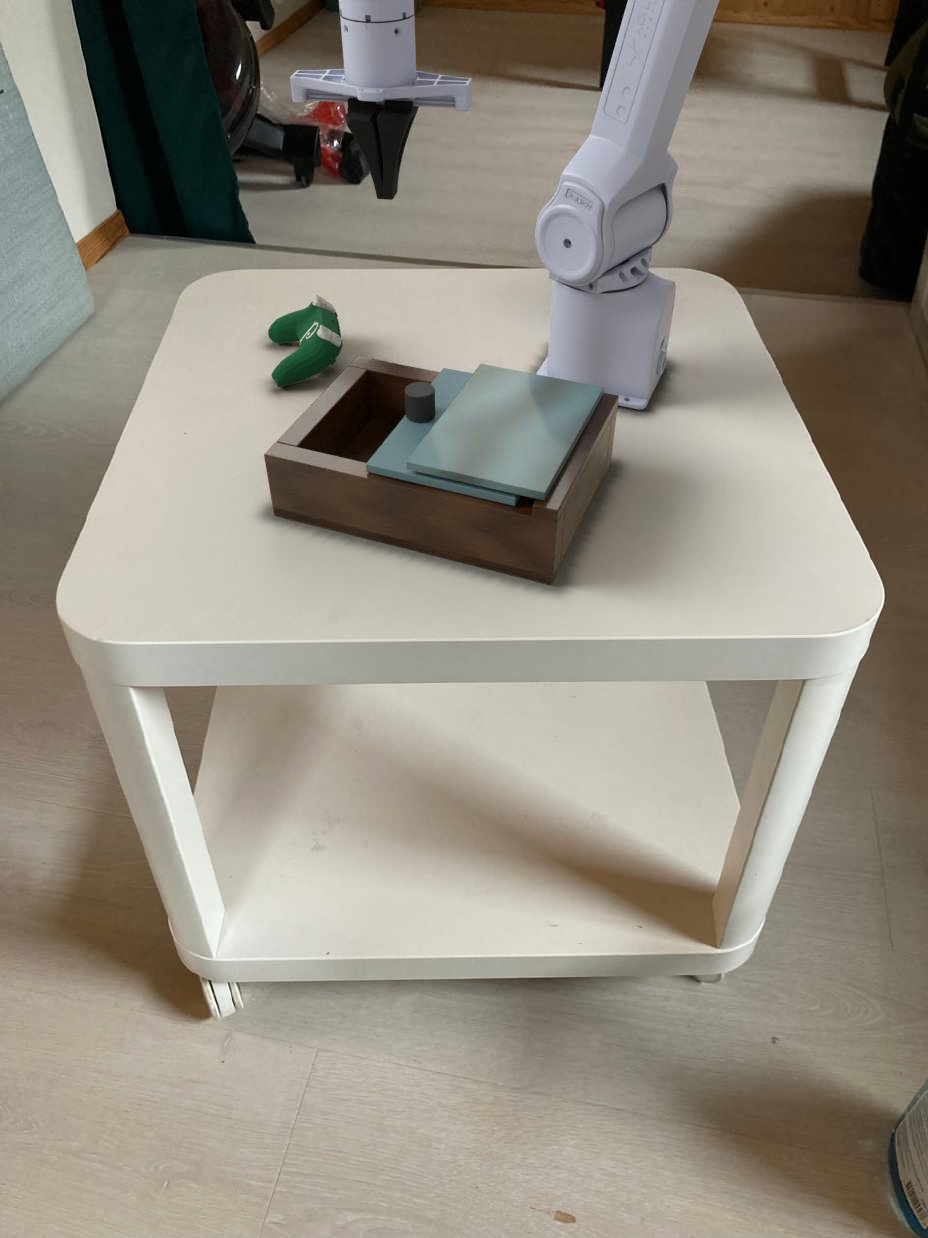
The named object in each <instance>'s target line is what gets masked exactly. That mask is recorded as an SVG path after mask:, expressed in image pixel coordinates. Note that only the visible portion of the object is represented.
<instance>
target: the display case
mask: <svg viewBox="0 0 928 1238" xmlns="http://www.w3.org/2000/svg"><path fill="white" fill-rule="evenodd" d="M440 372H441V371H437V370H431V369H427V368H421V367H415V366H411V365H406V364H401V363H395V362H392V361H391V362H390V361H385V360H380V359H375V358H370V357H365V356H360V355H358V356H356V357H355V358H354V359H353V360H352V361H351V362H350V363H349V365H347V366H346V367H345V369H343V371H342V372H341V373H340V374H339V375H338V376H337V377H336V378H335V379H334V380H333V381H332V382H331V383H330V385H329V386H327V388H326V389H325V390H324V391H323V392H322V393H321V394H320V395H319V396H318V397H317V398H316V399H315V400H314V402H312V404H310V406H309V407H308V408H307V409H306V410H305V411H304V412H302V414H300V416H299V417H298V418H297V419H296V420H295V421H294V422H293V423H292V424H291V425H290V426H289V427H288V429H287V430H286V431H285V432H284V433H283V434H282V435H281V436H280V437H279V438H278V439H277V440H276V441H275V442H274V443H273V444H272V445H271V446H270V447H269V448H268V450H266V452H265V453H264V454H263V458H264V463H265V469H266V470H265V471H266V476H267V481H268V487H269V494H270V498H271V499H270V500H271V505H272V511H273V516H274V517H279V518H283V519H287V520H291V521H295V522H299V523H303V524H307V525H311V526H315V527H318V528H323V529H326V530H331V531H334V532H339V533H342V534H346V535H350V536H355V537H358V538H362V539H366V540H371V541H375V542H379V543H383V544H386V545H390V546H394V547H398V548H402V549H406V550H409V551H413V552H418V553H422V554H425V555H429V556H433V557H438V558H442V559H446V560H450V561H454V562H458V563H461V564H466V565H468V566H469V565H470V566H473V567H477V568H481V569H486V570H490V571H494V572H497V573H501V574H505V575H510V576H513V577H516V578H517V577H518V578H522V579H526V580H530V581H533V582H537V583H541V584H545V585H549V586H553V584H554V582H555V581H556V579H557V577H558V574H559V573H560V571H561V568H562V567H563V564H564V562H565V560H566V558H567V556H568V554H569V552H570V550H571V548H572V546H573V544H574V542H575V539H576V538H577V536H578V534H579V531H580V530H581V528H582V526H583V523H584V521H585V519H586V517H587V516H588V513H589V511H590V509H591V507H592V506H593V503H594V501H595V499H596V497H597V495H598V494H599V491H600V489H601V487H602V484H603V482H604V480H605V479H606V477H607V474H608V473H609V470H610V468H611V467H612V466H611V465H612V457H613V448H614V440H615V433H616V432H615V431H616V423H617V415H618V408H619V405H618V400H619V396H618V395H613V394H608V393H603V392H604V387H600V386H595V385H589V384H584V383H579V382H574V381H569V380H563V379H558V378H553V377H548V376H543V375H537V374H536V373H532V372H526V371H521V370H516V369H512V368H506V367H500V366H495V365H490V364H486V363H480V364H479V365H478V366H477V367H476V369H475V370H474V371H473V374H472V376H471V377H470V378H469V380H468V381H467V382H466V384H465V385H464V386H463V388H462V389H461V390H460V392H459V393H458V394H457V395H456V397H455V398H454V399H453V401H452V402H451V403H450V405H449V406H448V407H447V409H446V410H445V411H444V413H443V414H442V415H441V417H440V418H439V419H438V421H437V422H436V423H435V424H434V426H433V427H432V428H431V430H430V431H429V432H428V434H427V435H426V436H425V438H424V439H423V440H422V442H421V443H420V444H419V446H418V447H417V448H416V450H415V451H414V452H413V454H412V455H411V456H410V457H409V459H408V460H407V462H406V465H407V469H408V470H412V471H416V472H421V473H425V474H430V475H434V476H438V477H443V478H447V479H452V480H456V481H460V482H465V483H469V484H473V485H478V486H482V487H487V488H491V489H495V490H500V491H504V492H508V493H513V494H517V495H521V497H520V498H519V500H518V502H517V503H516V505H515V506H512V505H508V504H504V503H499V502H495V501H491V500H486V499H482V498H478V497H473V496H469V495H465V494H460V493H456V492H452V491H447V490H443V489H439V488H435V487H430V486H426V485H422V484H417V483H413V482H409V481H404V480H400V479H396V478H391V477H387V476H383V475H378V474H374V473H370V472H367V471H366V463H367V462H368V461H369V460H370V458H371V457H372V456H373V455H374V453H375V452H376V451H377V450H378V449H379V447H380V446H381V445H382V444H383V442H384V441H385V440H386V439H387V437H388V436H389V435H390V434H391V432H392V431H393V430H394V429H395V427H396V426H397V425H398V424H399V423H400V421H401V420H402V419H403V418H404V416H405V415H406V409H405V388H406V386H407V385H409V384H411V383H414V382H426V383H429V384H431V383H432V382H433V380H434V379H435V378H436V377H437V375H438V374H439V373H440Z"/></svg>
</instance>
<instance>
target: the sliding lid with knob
mask: <svg viewBox="0 0 928 1238" xmlns="http://www.w3.org/2000/svg"><path fill="white" fill-rule="evenodd" d="M439 372H440V373H439V374H438V375H437V377H436V378H435V379H434V380H433V382H432V383H431V384H429V383H426V382H414V383H411V384H409V385H407V386H406V388H405V409H406V415H405V416H404V418H403V419H402V420H401V421H400V423H399V424H398V425H397V426H396V427H395V429H394V430H393V431H392V432H391V434H390V435H389V436H388V437H387V439H386V440H385V441H384V442H383V444H382V445H381V446H380V447H379V449H378V450H377V451H376V452H375V453H374V455H373V456H372V457H371V458H370V460H369V461H368V462H367V463H366V471H367V472H370V473H374V474H378V475H383V476H387V477H391V478H396V479H400V480H404V481H409V482H413V483H417V484H422V485H426V486H430V487H435V488H439V489H443V490H447V491H452V492H456V493H460V494H465V495H469V496H473V497H478V498H482V499H486V500H491V501H495V502H499V503H504V504H508V505H512V506H515V505H516V503H517V502H518V500H519V498H520V497H521V495H517V494H513V493H508V492H504V491H500V490H495V489H491V488H487V487H482V486H478V485H473V484H469V483H465V482H460V481H456V480H452V479H447V478H443V477H438V476H434V475H430V474H425V473H421V472H416V471H412V470H408V469H407V465H406V462H407V460H408V459H409V457H410V456H411V455H412V454H413V452H414V451H415V450H416V448H417V447H418V446H419V444H420V443H421V442H422V440H423V439H424V438H425V436H426V435H427V434H428V432H429V431H430V430H431V428H432V427H433V426H434V424H435V423H436V422H437V421H438V419H439V418H440V417H441V415H442V414H443V413H444V411H445V410H446V409H447V407H448V406H449V405H450V403H451V402H452V401H453V399H454V398H455V397H456V395H457V394H458V393H459V392H460V390H461V389H462V388H463V386H464V385H465V384H466V382H467V381H468V380H469V378H470V377H471V376H472V374H473V373H474V372H473V373H472V372H467V371H463V370H458V369H452V368H446V367H443V368H442V369H441V371H439Z"/></svg>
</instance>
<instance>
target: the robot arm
mask: <svg viewBox="0 0 928 1238" xmlns="http://www.w3.org/2000/svg"><path fill="white" fill-rule="evenodd" d="M719 3H720V0H627V3H626V6H625V9H624V13H623V16H622V20H621V24H620V27H619V30H618V34H617V38H616V41H615V45H614V48H613V52H612V55H611V58H610V62H609V66H608V68H607V69H608V70H607V73H606V77H605V80H604V83H603V88H602V91H601V95H600V97H599V102H598V105H597V108H596V111H595V114H594V115H595V116H594V119H593V123H592V126H591V130H590V133H589V135H588V137H587V138H586V140H585V141H584V142H583V144H582V145H581V147H580V148H579V149H578V150H577V152H576V153H575V154H574V156H573V157H572V158H571V160H569V162H568V164H567V165H566V166H565V168H564V169H563V170H562V172H561V173H560V177H559V182H558V186H557V188H556V190H555V192H554V194H553V196H552V197H551V198H550V200H549V201H548V202H547V203H546V204H545V205H544V206H543V207H542V208H541V210H540V211H539V214H538V216H537V219H536V222H535V229H534V239H535V245H536V250H537V253H538V256H539V258H540V260H541V262H542V264H543V265H544V267H545V269H546V270H547V271H548V278H549V279H550V280H551V297H550V311H549V312H550V314H549V327H548V329H549V330H548V343H547V344H548V345H547V356H546V357H545V359H544V361H543V362H542V364H541V365H540V367H539V368H538V370H537V372H535V374H537V375H543V376H548V377H553V378H558V379H563V380H569V381H574V382H579V383H584V384H589V385H595V386H600V387H604V392H603V393H608V394H613V395H618V396H619V400H618V407H619V406H620V407H624V408H629V409H635V410H644V409H646V408H647V406H648V403H649V402H650V399H651V397H652V396H653V393H654V391H655V389H656V388H657V385H658V383H659V381H660V378H661V377H662V375H663V374H664V370H665V368H666V366H667V356H668V354H667V353H668V347H669V340H670V334H671V327H672V322H673V321H672V320H673V314H674V307H675V301H676V282H675V281H673V280H671V279H666V278H664V277H661V276H658V275H657V274H655V273H654V272H651V271H650V270H649V269H650V263H651V262H652V261H651V260H652V254H653V246H655V245H657V244H658V243H659V242H661V240H662V239H664V237H665V236H666V234H667V232H668V231H669V229H670V227H671V223H672V220H673V211H674V209H673V208H674V207H673V186H674V182H675V178H676V175H677V173H678V170H679V165H678V163H677V161H676V160H675V158H674V157H673V156H672V154H671V153H670V152H669V150H668V149H669V146H670V143H671V140H672V138H673V135H674V132H675V129H676V126H677V123H678V120H679V117H680V114H681V111H682V109H683V107H684V103H685V100H686V97H687V95H688V93H689V89H690V86H691V83H692V80H693V77H694V74H695V72H696V69H697V65H698V63H699V60H700V57H701V54H702V51H703V49H704V46H705V42H706V40H707V37H708V35H709V31H710V28H711V25H712V23H713V20H714V18H715V14H716V11H717V9H718V6H719ZM338 9H339V18H340V19H339V20H340V30H341V46H342V56H343V57H342V58H343V68H335V69H332V68H331V69H313V70H311V69H307V70H304V69H297V70H295V72H293V73H292V75H291V76H289V79H290V80H289V81H290V89H291V98H292V103H297V104H306V103H307V102H308V101H311V102H330V103H346V104H347V109H346V110H347V112H346V113H345V115H344V120H345V123H346V126H347V128H348V130H349V131H350V133H351V134H352V136H353V137H354V139H355V141H356V143H357V145H358V147H359V149H360V151H361V153H362V155H363V158H364V160H365V163H366V165H367V167H368V171H369V173H370V174H369V175H370V176H371V179H372V184H373V187H374V191H375V196H376V199H377V200H386V201H387V200H389V201H392V200H394V198H395V197H396V195H397V193H398V190H399V189H398V188H399V179H400V177H399V176H400V170H401V166H402V160H403V157H404V151H405V147H406V145H407V141H408V138H409V135H410V133H411V130H412V127H413V124H414V121H415V118H416V116H417V113H418V111H419V108H420V107H424V108H425V107H426V108H443V109H445V108H447V109H448V108H449V109H455V111H457V112H469V111H470V109H471V108H472V105H473V78H471V77H460V76H459V77H458V76H452V75H444V74H440V73H439V74H438V73H433V72H426V71H421V70H417V53H416V52H417V48H416V47H417V46H416V22H415V0H338Z"/></svg>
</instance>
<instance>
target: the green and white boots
mask: <svg viewBox="0 0 928 1238" xmlns="http://www.w3.org/2000/svg"><path fill="white" fill-rule="evenodd" d="M338 317H339V316H338V313H337V311H336V308H335V307H334V305H333V304H331V302H329V300H326V299H325V298H324V297H322V296H320V295H319V294H315V295H314V299H313V300H312V301H311V302H310V303H309V304H308V305H307V307H305V308H302V309H299V310H295V311H293V312H289V313H286V314H284V315H282V316H280V317H277V318H276V319H275V320H274V321H273V322H272V323H271V325H270V326H269V328H268V330H267V335H268V338H269V339H270V340H271V341H272V342H273V343H275V344H281V345H282V344H283V345H284V344H289V343H295V342H296V343H297V342H298V343H299V348H298V349H297V350H295V351H294V352H292V353H291V354H288V355H287V356H286V357H285V358H283V359H282V360H281V361H280V362H279V363H278V364H277V365H276V367H275V368H274V369H273V371H272V372H271V376H270V377H271V378H272V380H273V381H274V383H275V384H276V387H278V388H281V387H287V386H290V385H294V384H295V385H296V384H298V383H301V382H303V381H305V380H308V379H311V378H312V377H314V376H316V375H318V374H319V373H321V372H323V371H324V370H325V369H327V368H328V367H330V366H334V364H336V362H337V358H338V356H339V355H340V353H341V352H342V349H343V344H344V343H343V339H342V333H341V326H340V321H339V319H338Z"/></svg>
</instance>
